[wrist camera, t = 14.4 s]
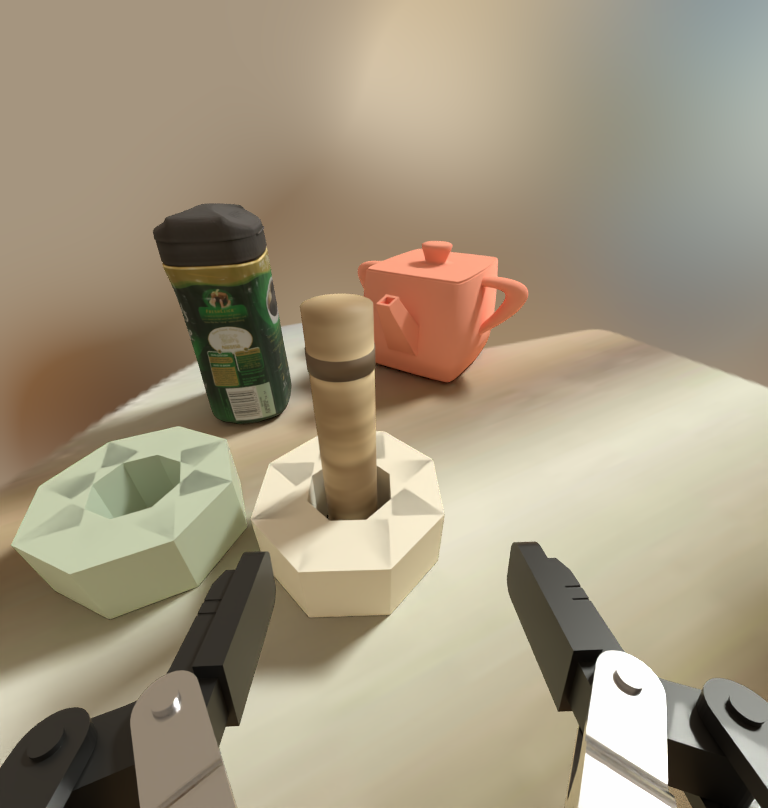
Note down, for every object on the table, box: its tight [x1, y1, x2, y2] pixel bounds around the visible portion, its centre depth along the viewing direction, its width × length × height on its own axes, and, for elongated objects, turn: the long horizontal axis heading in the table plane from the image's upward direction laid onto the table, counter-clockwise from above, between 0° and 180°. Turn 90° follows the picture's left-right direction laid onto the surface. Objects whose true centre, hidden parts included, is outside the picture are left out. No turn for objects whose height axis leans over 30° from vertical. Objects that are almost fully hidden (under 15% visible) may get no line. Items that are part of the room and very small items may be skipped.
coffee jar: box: [153, 204, 291, 423], centre depth 33 cm, size 10×8×19 cm
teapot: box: [358, 241, 528, 382], centre depth 43 cm, size 20×22×14 cm
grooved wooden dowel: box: [300, 294, 377, 521], centre depth 20 cm, size 3×3×16 cm
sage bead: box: [11, 426, 247, 620], centre depth 24 cm, size 11×11×4 cm
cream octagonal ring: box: [251, 431, 445, 618], centre depth 23 cm, size 11×11×4 cm
